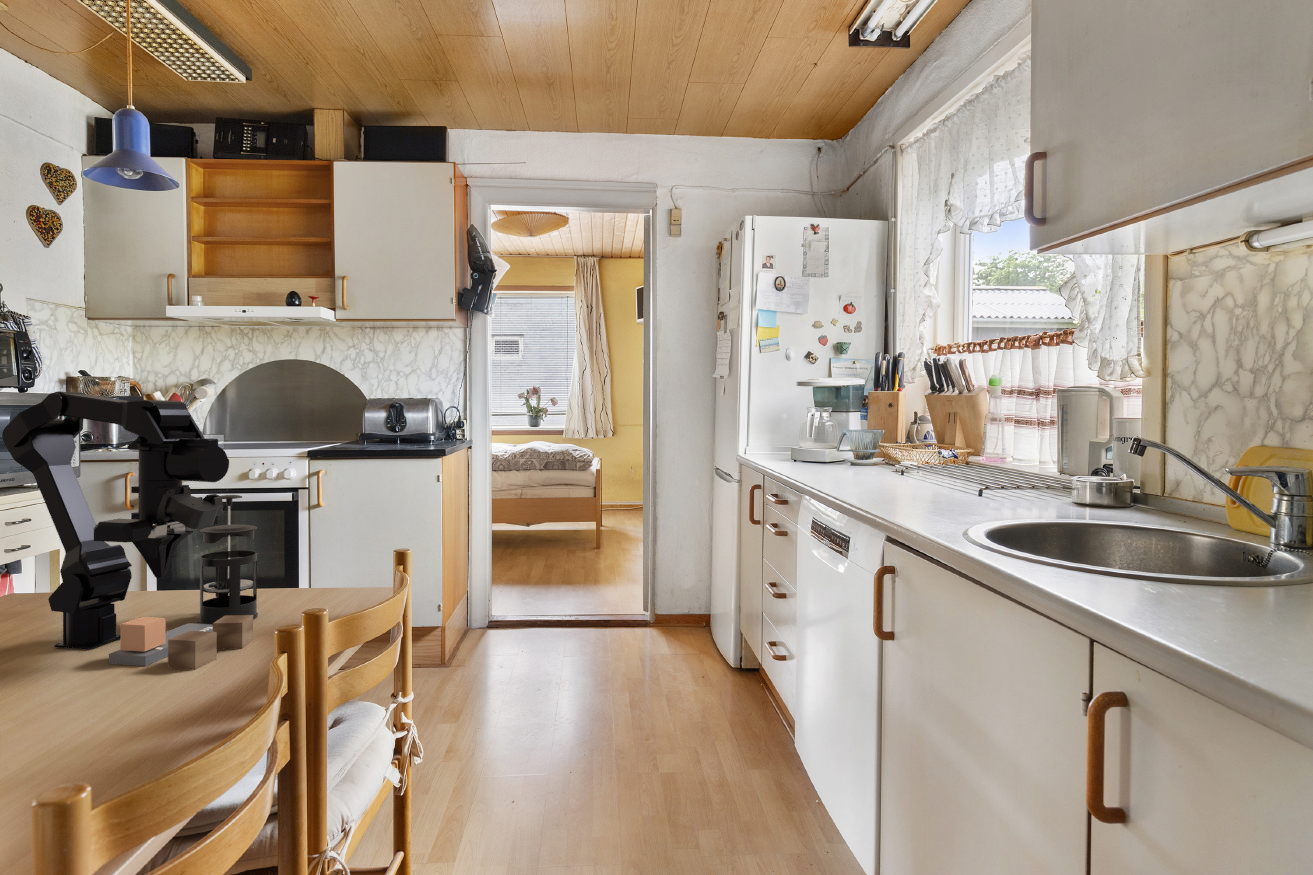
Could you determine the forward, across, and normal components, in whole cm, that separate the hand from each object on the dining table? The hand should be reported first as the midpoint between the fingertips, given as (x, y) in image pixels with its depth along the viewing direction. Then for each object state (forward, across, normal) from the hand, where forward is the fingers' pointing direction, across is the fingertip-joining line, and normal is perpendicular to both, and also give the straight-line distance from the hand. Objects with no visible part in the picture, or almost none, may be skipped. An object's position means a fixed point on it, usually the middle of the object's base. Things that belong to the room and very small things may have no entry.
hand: (160, 577), depth 112 cm
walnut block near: (+12, -4, -9) cm, 15 cm away
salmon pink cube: (+10, -3, 0) cm, 11 cm away
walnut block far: (+12, +5, -9) cm, 16 cm away
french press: (+12, +18, +2) cm, 22 cm away
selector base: (+12, +2, 0) cm, 12 cm away
